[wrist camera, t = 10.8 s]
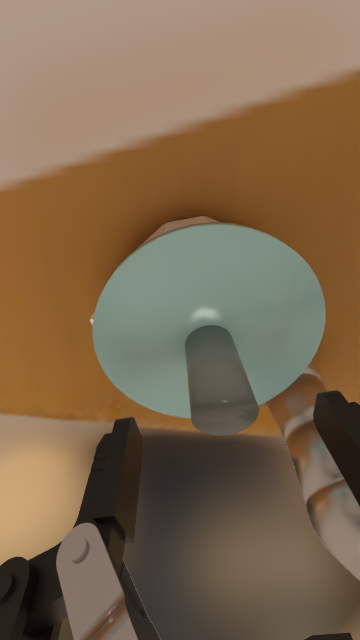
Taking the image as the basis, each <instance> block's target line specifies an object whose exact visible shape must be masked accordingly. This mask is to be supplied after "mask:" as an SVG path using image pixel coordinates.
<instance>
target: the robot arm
mask: <svg viewBox="0 0 360 640" xmlns="http://www.w3.org/2000/svg"><path fill="white" fill-rule="evenodd" d="M313 420H314V424H315V427H316V429H317V431H318V433H319V435H320V436H321V438H322V440H323V442H324V444H325V445H326V447H327V449H328V451H329V453H330V454H331V456H332V458H333V460H334V461H335V463H336V465H337V467H338V469H339V470H340V472H341V474H342V476H343V478H344V479H345V481H346V483H347V485H348V486H349V488H350V490H351V492H352V494H353V495H354V497H355V499H356V501H357V503H358V504H359V506H360V405H359V404H357V403H356V402H351V403H348V402H347V400H346V399H345V398H344V396H343V395H342V394H341V393H340V392H339V391H337V390H335V391H328V392H321V393H317V396H316V401H315V407H314V412H313ZM142 457H143V440H142V436H141V434H140V431H139V429H138V426H137V424H136V421H135V419H134V418H133V417H130V418H123V419H117V420H116V421H115V423H114V427H113V431H112V433H109V434H105V435H104V436H103V438H102V439H101V441H100V443H99V444H98V446H97V449H96V453H95V456H94V462H93V464H92V467H91V473H90V475H89V478H88V482H87V486H86V489H85V493H84V497H83V501H82V504H81V508H80V511H79V515H78V518H77V521H76V523H75V525H74V527H73V529H72V530H71V531H70V532H69V533H68V534H67V535H66V537H65V538H64V540H63V541H62V542H60V543H59V544H58V545H56V546H55V547H53V548H51V549H49V550H47V551H45V552H43V553H41V554H39V555H38V556H36V557H34V558H32V559H30V560H28V561H27V560H26V559H24V558H23V557H14V558H11V559H9V560H7V561H6V562H4V563H3V564H2V565H1V566H0V640H58V638H59V633H60V628H61V623H62V620H64V619H65V618H67V617H69V621H70V625H71V629H72V634H73V638H74V640H161V639H160V637H159V635H158V633H157V631H156V629H155V627H154V626H153V624H152V622H151V621H150V619H149V617H148V615H147V613H146V610H145V608H144V606H143V603H142V601H141V599H140V597H139V594H138V592H137V590H136V588H135V585H134V583H133V581H132V579H131V576H130V574H129V572H128V569H127V567H126V565H125V563H124V560H123V553H124V545H125V543H132V542H134V534H135V524H136V515H137V505H138V495H139V485H140V476H141V466H142ZM305 640H353V639H352V637H351V634H350V633H340V634H327V635H313V636H310V637H309V638H307V639H305Z"/></svg>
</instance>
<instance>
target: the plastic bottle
mask: <svg viewBox="0 0 360 640" xmlns="http://www.w3.org/2000/svg"><path fill="white" fill-rule="evenodd" d="M321 392H328V390H327V388H326V387H325V385H324V383H323V380H322V377H321V375H320V373H319V371H318V369H317V368H316V366H315V364H314V362H313V361H311V362H310V364H309V365H308V366H307V368H306V369H305V370H304V372H303V373H302V374H301V375H300V376H299V377H298V378H297V379H296V380H295V381H294V382H293V383H292V384H291V385H290V386H289V387H287V388H286V389H285V390H284V391H282V392H281V393H279V394H278V395H276V396H275V397H273V398H272V399H270V400H268V401H266V402H265V404H266V406H267V407H268V409H269V410H270V412H271V414H272V416H273V418H274V420H275V422H276V424H277V426H278V427H279V429H280V431H281V433H282V435H283V438H284V441H285V443H286V445H287V448H288V451H289V454H290V456H291V459H292V462H293V465H294V467H295V471H296V474H297V478H298V481H299V485H300V488H301V492H302V495H303V499H304V502H305V505H306V508H307V509H306V510H307V513H308V515H309V518H310V521H311V524H312V527H313V529H314V531H315V532H316V534H317V535H318V537H319V538H320V540H321V541H322V543H323V544H324V546H325V547H326V548H327V549H328V550H329V551H330V552H331V553H332V554H333V555H334V556H335V557H336V559H337V560H338V561H339V562H340V563H341V564H342V565H344V567H345V568H347V569H348V570H349V571H350V572H351V573H352V574H353V575H354V576H355V577H356V578H357V579H358V580H359V581H360V506H359V504H358V503H357V501H356V499H355V497H354V495H353V494H352V492H351V490H350V488H349V486H348V485H347V483H346V481H345V479H344V478H343V476H342V474H341V472H340V470H339V469H338V467H337V465H336V463H335V461H334V460H333V458H332V456H331V454H330V453H329V451H328V449H327V447H326V445H325V444H324V442H323V440H322V438H321V436H320V435H319V433H318V431H317V429H316V427H315V424H314V420H313V412H314V407H315V401H316V396H317V393H321Z"/></svg>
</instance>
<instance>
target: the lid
mask: <svg viewBox="0 0 360 640" xmlns="http://www.w3.org/2000/svg"><path fill="white" fill-rule="evenodd" d="M325 319H326V309H325V300H324V296H323V291H322V288H321V286H320V284H319V281H318V279H317V277H316V275H315V274H314V272H313V271H312V269H311V267H310V266H309V265H308V264H307V263H306V261H305V260H304V259H303V258H302V257H301V256H300V255H299V254H298V253H297V252H295V251H294V250H293V249H291V248H290V247H289V246H287V245H286V244H285V243H283V242H281V241H280V240H278V239H276V238H275V237H273V236H271V235H269V234H267V233H265V232H263V231H260V230H257V229H255V228H252V227H249V226H245V225H239V224H234V223H223V222H208V223H197V224H191V225H187V226H183V227H179V228H175V229H173V230H170V231H167V232H165V233H162V234H160V235H158V236H156V237H154V238H152V239H151V240H149V241H147V242H145V243H144V244H142V245H141V246H140V247H138V248H137V249H136V250H134V251H133V252H132V253H130V254H129V256H128V257H127V258H126V259H125V260H124V261H123V262H122V263H121V264H120V265H119V266H118V267H117V269H116V270H115V271H114V273H113V274H112V275H111V277H110V278H109V280H108V282H107V284H106V286H105V288H104V290H103V292H102V293H101V295H100V297H99V300H98V303H97V306H96V309H95V313H94V319H93V342H94V348H95V352H96V355H97V358H98V361H99V363H100V365H101V367H102V369H103V371H104V372H105V374H106V375H107V376H108V378H109V379H110V381H111V382H112V383H113V384H114V385H115V386H116V387H117V388H118V389H119V390H120V391H121V392H122V393H124V394H125V395H126V396H127V397H129V398H130V399H132V400H133V401H135V402H136V403H138V404H140V405H142V406H144V407H146V408H148V409H151V410H154V411H156V412H159V413H163V414H167V415H171V416H176V417H183V418H191V420H192V423H193V425H194V426H195V427H196V428H197V429H199V430H200V431H202V432H204V433H207V434H211V435H229V434H234V433H237V432H240V431H242V430H244V429H246V428H247V427H249V426H250V425H251V424H252V423H253V422H254V421H255V420H256V418H257V416H258V413H259V407H258V405H260V404H263V403H265V402H266V401H268V400H270V399H272V398H273V397H275V396H276V395H278V394H279V393H281V392H282V391H284V390H285V389H286V388H287V387H289V386H290V385H291V384H292V383H293V382H294V381H295V380H296V379H297V378H298V377H299V376H300V375H301V374H302V373H303V372H304V370H305V369H306V368H307V366H308V365H309V364H310V362H311V361H312V359H313V357H314V356H315V354H316V352H317V350H318V347H319V345H320V343H321V340H322V336H323V332H324V328H325Z"/></svg>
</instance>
